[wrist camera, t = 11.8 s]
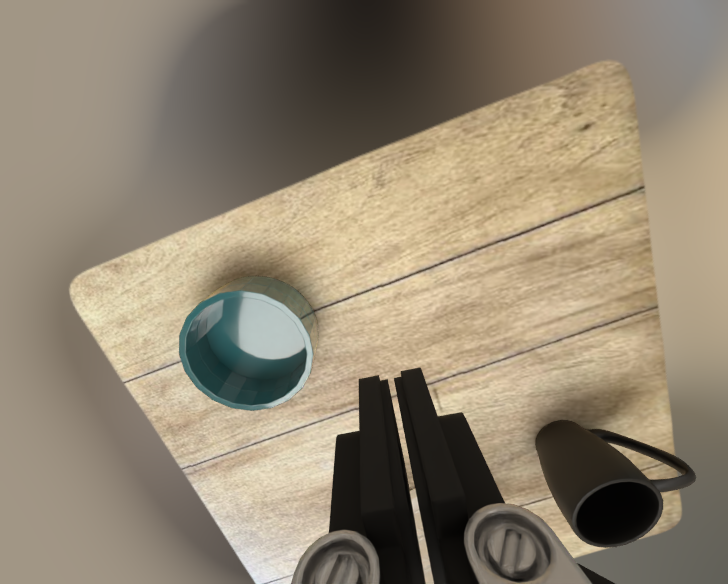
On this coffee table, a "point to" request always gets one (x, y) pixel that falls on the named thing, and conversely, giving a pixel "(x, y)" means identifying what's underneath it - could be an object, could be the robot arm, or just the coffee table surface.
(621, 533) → the mug
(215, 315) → the bowl
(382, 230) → the coffee table surface
